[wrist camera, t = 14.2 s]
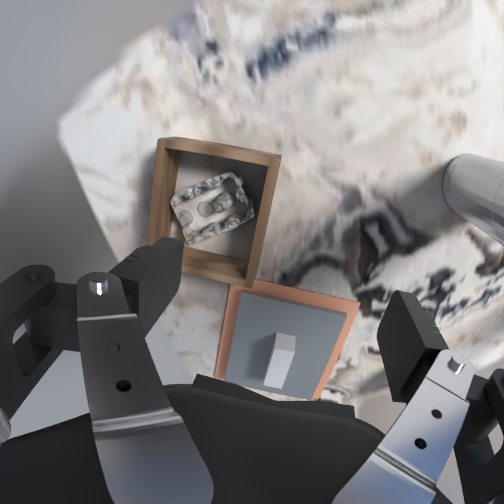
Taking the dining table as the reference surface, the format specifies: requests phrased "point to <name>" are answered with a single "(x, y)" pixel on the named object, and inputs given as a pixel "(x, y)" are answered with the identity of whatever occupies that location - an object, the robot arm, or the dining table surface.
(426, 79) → the dining table surface
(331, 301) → the mat
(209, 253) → the box
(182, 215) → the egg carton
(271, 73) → the dining table surface
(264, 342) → the lid
